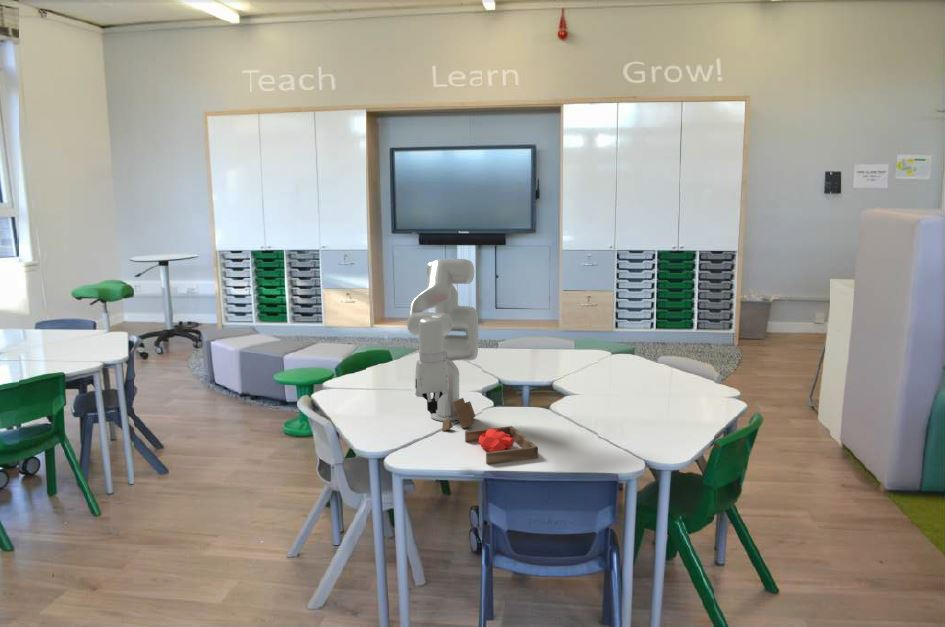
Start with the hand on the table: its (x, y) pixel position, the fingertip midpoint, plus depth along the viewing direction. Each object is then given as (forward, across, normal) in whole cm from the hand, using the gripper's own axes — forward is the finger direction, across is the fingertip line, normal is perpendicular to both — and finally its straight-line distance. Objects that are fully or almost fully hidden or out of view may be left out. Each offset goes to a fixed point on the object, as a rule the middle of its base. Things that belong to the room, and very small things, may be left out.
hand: (432, 412), depth 222 cm
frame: (+15, -22, +2) cm, 27 cm away
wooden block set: (+17, -19, -26) cm, 36 cm away
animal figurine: (+16, -22, +1) cm, 27 cm away
